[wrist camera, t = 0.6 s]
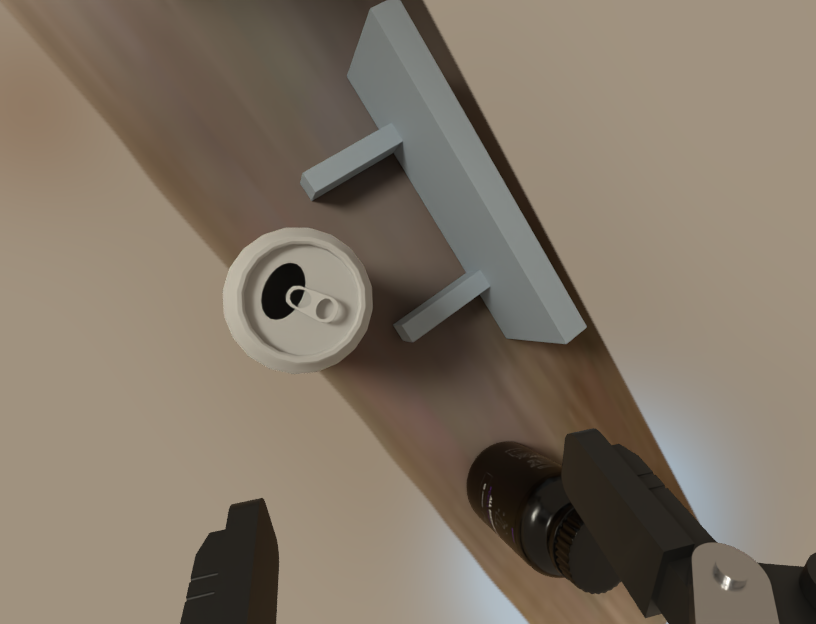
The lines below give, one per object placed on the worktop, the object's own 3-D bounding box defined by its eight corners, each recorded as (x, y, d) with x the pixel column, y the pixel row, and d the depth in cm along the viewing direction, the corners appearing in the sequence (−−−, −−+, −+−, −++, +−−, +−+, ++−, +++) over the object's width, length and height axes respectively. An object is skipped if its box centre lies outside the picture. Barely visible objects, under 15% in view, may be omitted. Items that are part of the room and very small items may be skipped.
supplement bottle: (447, 489, 37) (530, 569, 25) (499, 423, 38) (599, 469, 27) (503, 539, 38) (605, 635, 27) (551, 473, 40) (668, 537, 28)
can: (263, 235, 33) (262, 191, 21) (358, 280, 35) (404, 263, 23) (216, 331, 32) (189, 341, 20) (317, 372, 34) (343, 401, 22)
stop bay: (259, 121, 33) (258, 62, 25) (368, 65, 35) (397, -5, 27) (436, 392, 36) (482, 412, 29) (523, 324, 39) (586, 327, 31)
